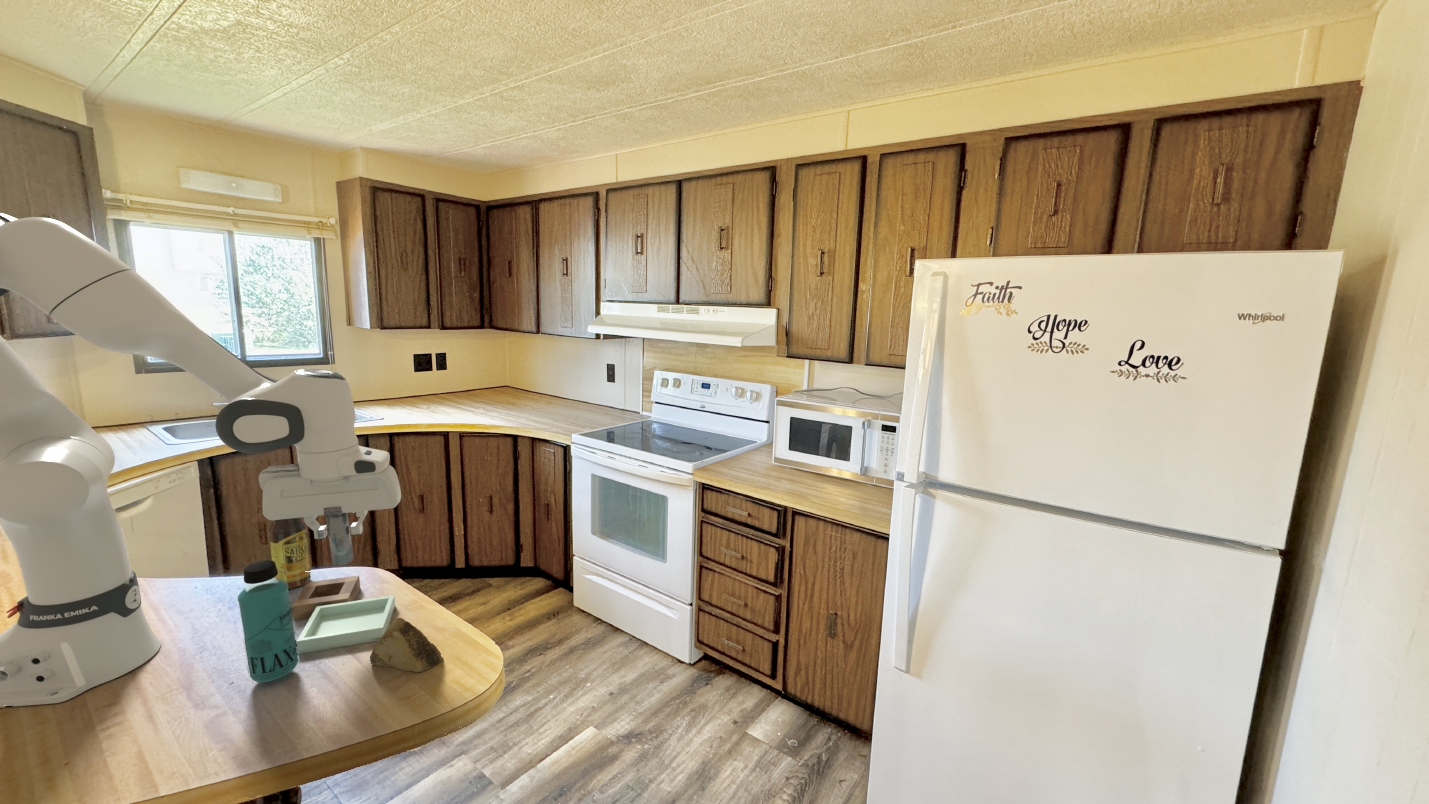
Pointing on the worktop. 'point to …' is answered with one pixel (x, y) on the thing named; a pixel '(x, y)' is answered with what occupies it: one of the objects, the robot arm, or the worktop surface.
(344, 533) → the pin
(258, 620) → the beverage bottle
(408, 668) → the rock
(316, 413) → the robot arm
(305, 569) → the sauce bottle
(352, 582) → the collar
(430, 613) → the worktop surface
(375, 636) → the dish
